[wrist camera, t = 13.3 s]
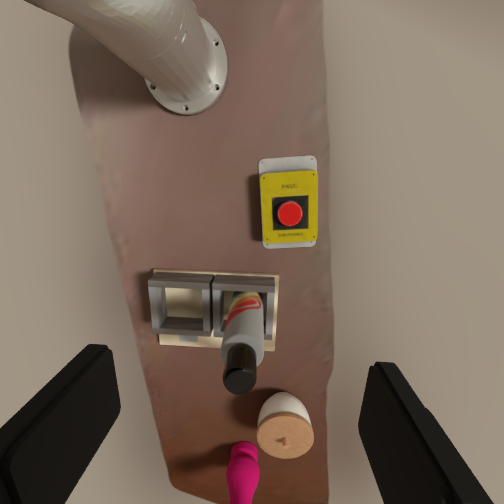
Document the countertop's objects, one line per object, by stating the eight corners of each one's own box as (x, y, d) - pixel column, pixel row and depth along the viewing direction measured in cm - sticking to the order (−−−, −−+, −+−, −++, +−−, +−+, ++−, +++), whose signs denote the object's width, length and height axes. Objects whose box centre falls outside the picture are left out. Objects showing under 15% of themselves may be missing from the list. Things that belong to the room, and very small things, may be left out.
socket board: (155, 268, 48) (142, 278, 43) (278, 273, 47) (280, 284, 42) (161, 341, 52) (151, 357, 48) (274, 347, 51) (275, 365, 46)
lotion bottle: (236, 281, 46) (220, 356, 27) (266, 289, 47) (271, 370, 27) (228, 307, 48) (207, 396, 29) (257, 316, 48) (256, 409, 29)
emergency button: (262, 255, 42) (257, 157, 37) (262, 247, 46) (258, 159, 42) (320, 252, 41) (321, 153, 37) (315, 245, 45) (316, 155, 41)
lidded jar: (311, 418, 56) (320, 465, 47) (264, 424, 57) (263, 471, 48) (302, 379, 53) (309, 421, 44) (252, 387, 54) (249, 429, 45)
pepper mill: (241, 465, 61) (229, 597, 42) (223, 446, 60) (202, 574, 41) (266, 455, 60) (265, 586, 41) (248, 435, 58) (239, 561, 39)
